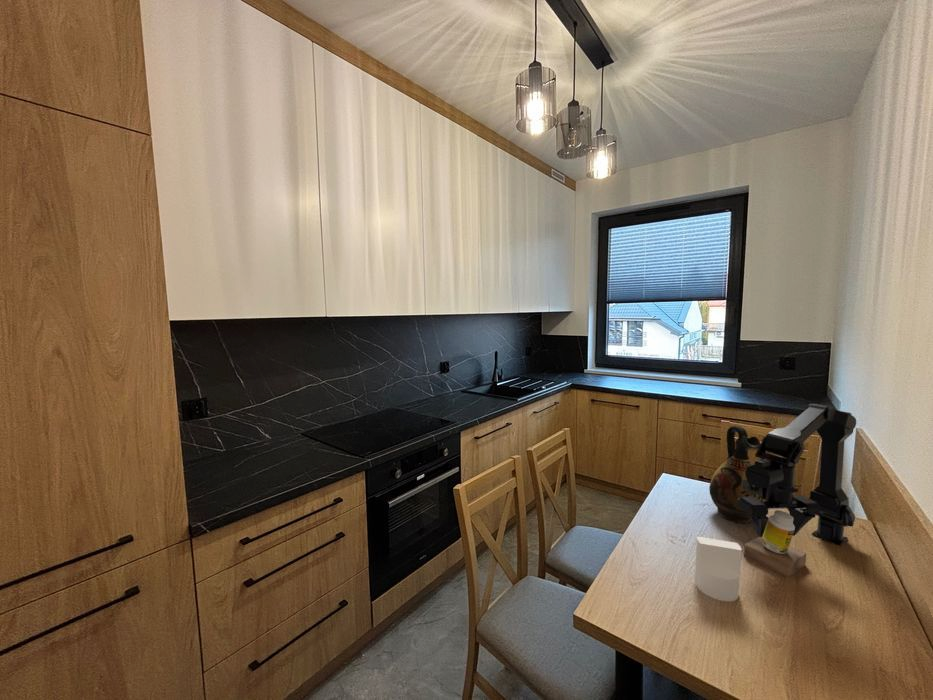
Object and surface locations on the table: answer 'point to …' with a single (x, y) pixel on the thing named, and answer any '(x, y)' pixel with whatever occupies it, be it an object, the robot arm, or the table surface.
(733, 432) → the ceramic jug
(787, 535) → the supplement bottle
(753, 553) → the walnut block
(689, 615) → the table surface
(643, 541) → the table surface
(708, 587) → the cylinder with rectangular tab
